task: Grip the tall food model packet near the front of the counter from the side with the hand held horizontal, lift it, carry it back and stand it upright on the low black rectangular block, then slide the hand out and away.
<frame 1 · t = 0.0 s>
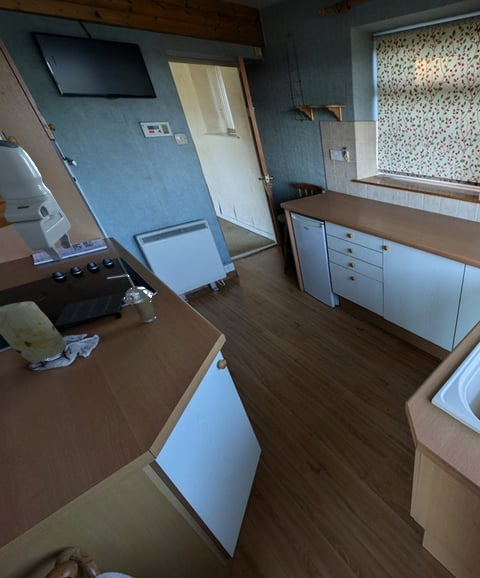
hand: (63, 253, 86), 31 cm above the worktop, tool pointing down, fingers open, 8 cm apart
cup with straw: (149, 319, 110), on the worktop
food model: (51, 358, 92), on the worktop
low black rectangular block: (96, 314, 112), on the worktop
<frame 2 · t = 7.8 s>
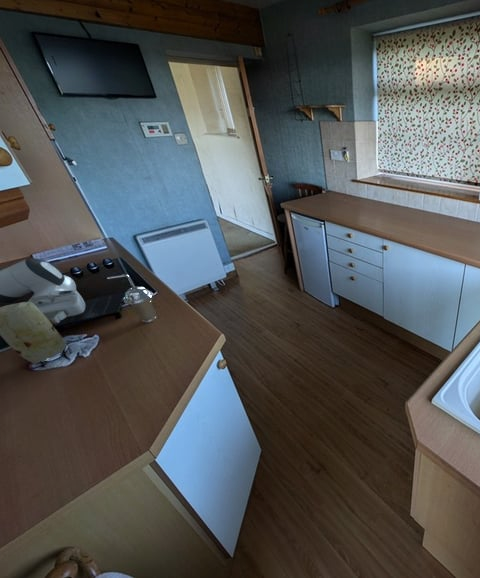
hand: (32, 326, 88), 11 cm above the worktop, tool horizontal, fingers open, 8 cm apart
food model: (51, 358, 92), on the worktop, touching gripper
everything else where it was.
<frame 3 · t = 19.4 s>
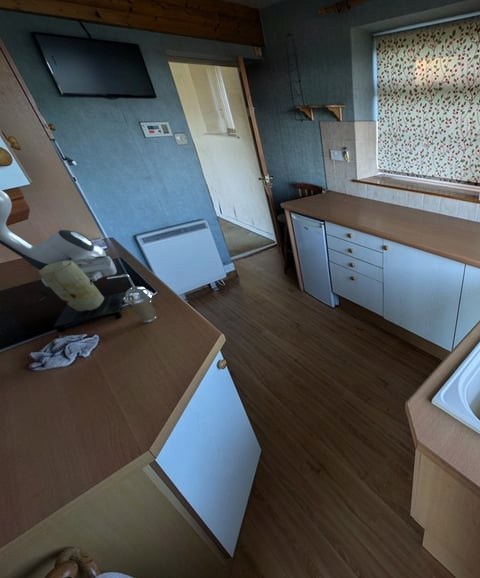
hand: (75, 282, 105), 14 cm above the worktop, tool horizontal, fingers open, 8 cm apart
food model: (91, 306, 111), point 3 cm above the worktop, touching gripper, low black rectangular block
everything else where it was.
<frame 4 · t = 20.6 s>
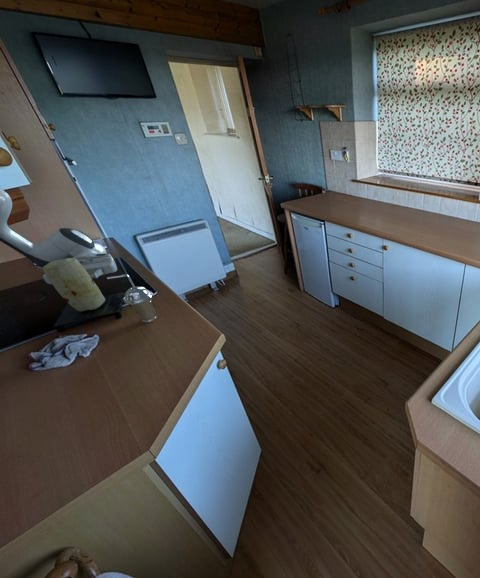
hand: (76, 279, 106), 15 cm above the worktop, tool horizontal, fingers open, 8 cm apart
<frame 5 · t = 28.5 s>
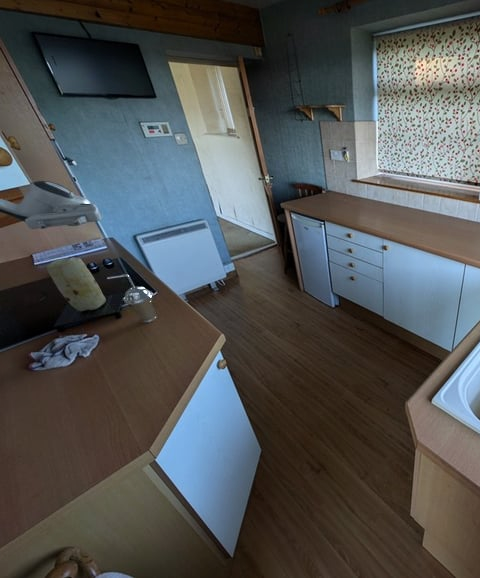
hand: (59, 224, 105), 32 cm above the worktop, tool horizontal, fingers open, 8 cm apart
food model: (92, 308, 111), point 3 cm above the worktop, touching low black rectangular block
everything else where it was.
at the end: food model inside the target area on the low black rectangular block (0.1 cm from its centre), point 2.9 cm above the low black rectangular block's base; food model tilted 0°; the gripper is holding nothing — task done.
